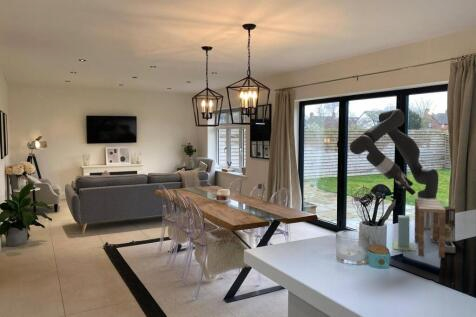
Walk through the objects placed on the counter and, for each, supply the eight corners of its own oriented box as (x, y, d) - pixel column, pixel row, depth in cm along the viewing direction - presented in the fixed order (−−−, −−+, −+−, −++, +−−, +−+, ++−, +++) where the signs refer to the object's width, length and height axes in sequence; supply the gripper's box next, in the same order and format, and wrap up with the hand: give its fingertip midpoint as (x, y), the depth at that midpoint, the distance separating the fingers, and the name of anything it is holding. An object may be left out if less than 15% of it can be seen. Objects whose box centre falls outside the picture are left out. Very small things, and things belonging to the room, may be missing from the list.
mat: (393, 241, 178) (393, 241, 178) (413, 243, 175) (413, 242, 175) (393, 249, 167) (393, 248, 167) (415, 251, 164) (415, 250, 164)
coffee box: (449, 237, 182) (449, 206, 181) (455, 241, 176) (456, 208, 175) (430, 237, 183) (430, 206, 182) (435, 241, 177) (436, 209, 176)
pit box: (441, 246, 169) (441, 240, 169) (451, 247, 167) (451, 241, 167) (444, 252, 160) (444, 246, 160) (455, 253, 159) (455, 247, 159)
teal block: (398, 243, 174) (398, 215, 173) (408, 244, 172) (408, 215, 171) (398, 246, 170) (398, 217, 168) (409, 247, 168) (409, 218, 167)
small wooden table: (414, 240, 179) (414, 198, 178) (437, 241, 176) (437, 199, 174) (418, 255, 158) (419, 208, 157) (444, 257, 154) (445, 209, 153)
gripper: (394, 168, 161) (421, 191, 162) (392, 156, 173) (417, 177, 174) (381, 179, 165) (408, 201, 165) (380, 166, 177) (404, 187, 178)
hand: (412, 189), depth 170 cm, fingers open, 8 cm apart
